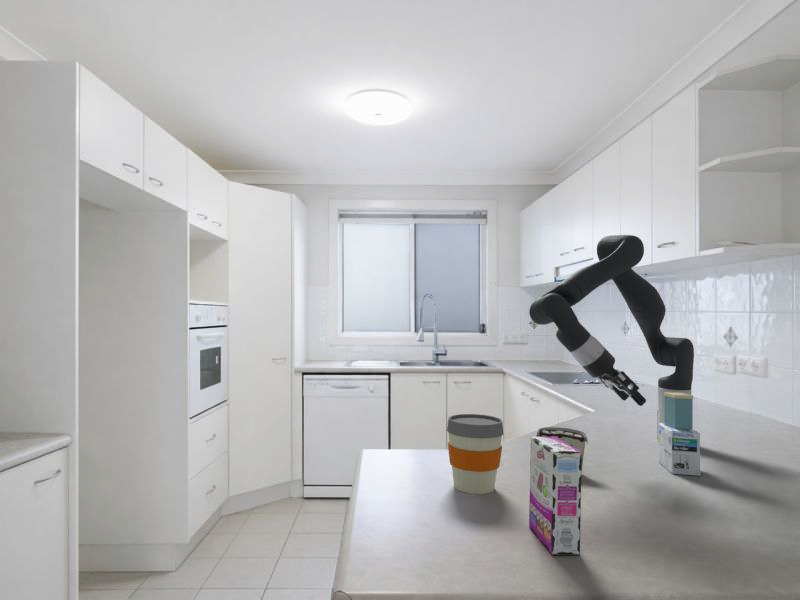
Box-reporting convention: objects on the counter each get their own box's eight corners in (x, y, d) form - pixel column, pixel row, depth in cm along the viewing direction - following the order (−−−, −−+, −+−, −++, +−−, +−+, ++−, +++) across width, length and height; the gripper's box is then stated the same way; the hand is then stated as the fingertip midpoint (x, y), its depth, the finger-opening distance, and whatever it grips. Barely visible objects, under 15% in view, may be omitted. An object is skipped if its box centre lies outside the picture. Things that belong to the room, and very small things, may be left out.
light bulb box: (701, 476, 120) (701, 432, 121) (671, 474, 122) (671, 430, 122) (684, 464, 131) (684, 423, 131) (657, 462, 132) (657, 422, 132)
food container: (589, 469, 124) (589, 430, 124) (587, 476, 118) (588, 435, 118) (539, 462, 129) (540, 424, 129) (535, 469, 123) (536, 429, 124)
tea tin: (663, 425, 129) (664, 392, 129) (681, 425, 129) (681, 392, 129) (674, 429, 124) (674, 395, 124) (693, 429, 124) (693, 395, 125)
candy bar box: (582, 556, 78) (583, 452, 78) (552, 556, 77) (553, 452, 78) (554, 526, 89) (555, 435, 89) (527, 526, 88) (529, 435, 89)
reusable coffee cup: (467, 500, 100) (468, 427, 101) (435, 482, 111) (436, 416, 112) (514, 492, 106) (515, 422, 107) (479, 475, 117) (480, 412, 118)
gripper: (614, 346, 120) (660, 395, 119) (590, 343, 134) (631, 387, 134) (592, 367, 119) (638, 416, 119) (571, 362, 134) (611, 406, 133)
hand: (634, 400), depth 126 cm, fingers open, 8 cm apart
